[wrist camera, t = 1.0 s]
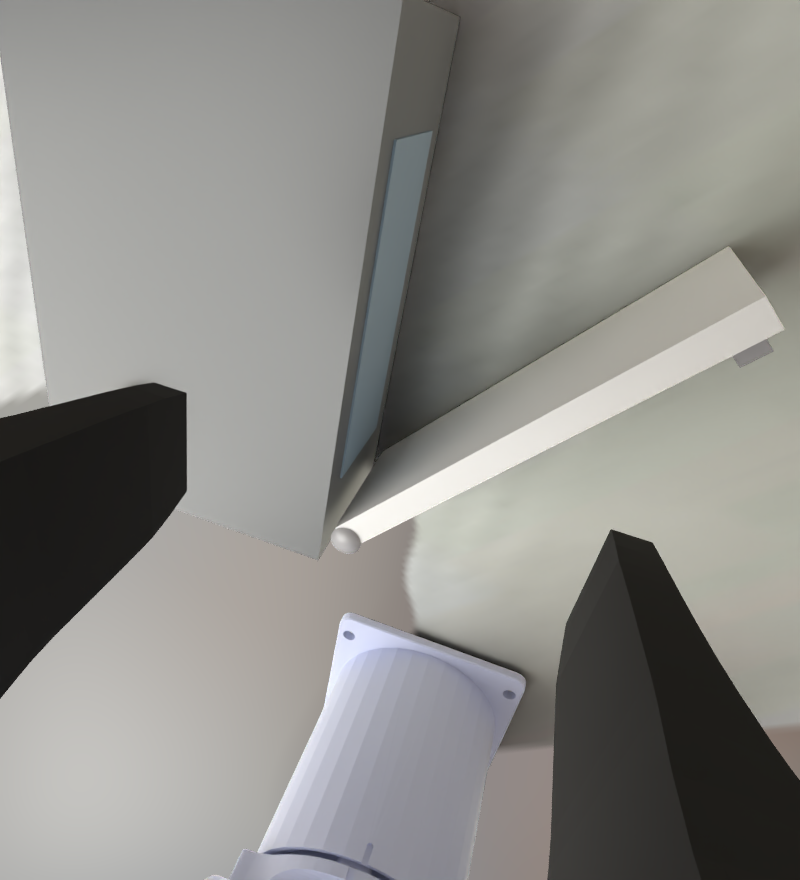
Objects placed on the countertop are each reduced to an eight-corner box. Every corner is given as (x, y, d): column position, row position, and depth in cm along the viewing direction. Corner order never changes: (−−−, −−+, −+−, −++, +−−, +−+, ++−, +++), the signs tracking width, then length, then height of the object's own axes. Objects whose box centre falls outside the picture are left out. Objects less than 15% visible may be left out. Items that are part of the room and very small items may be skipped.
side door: (397, 486, 22) (353, 568, 19) (373, 456, 22) (323, 534, 18) (754, 290, 16) (799, 354, 12) (728, 245, 16) (766, 296, 12)
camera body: (373, 473, 23) (311, 574, 18) (153, 401, 24) (43, 477, 19) (482, -82, 14) (418, -162, 10) (133, -145, 16) (-70, -243, 11)
